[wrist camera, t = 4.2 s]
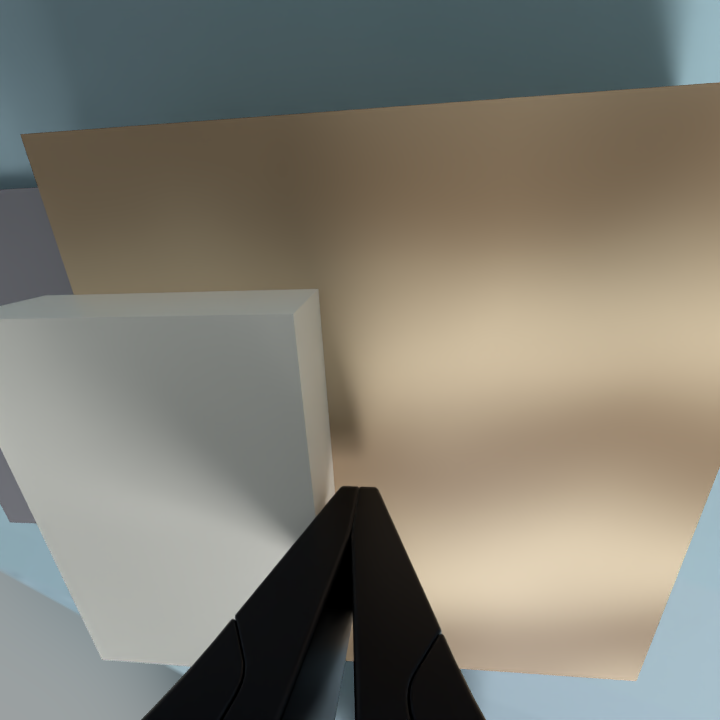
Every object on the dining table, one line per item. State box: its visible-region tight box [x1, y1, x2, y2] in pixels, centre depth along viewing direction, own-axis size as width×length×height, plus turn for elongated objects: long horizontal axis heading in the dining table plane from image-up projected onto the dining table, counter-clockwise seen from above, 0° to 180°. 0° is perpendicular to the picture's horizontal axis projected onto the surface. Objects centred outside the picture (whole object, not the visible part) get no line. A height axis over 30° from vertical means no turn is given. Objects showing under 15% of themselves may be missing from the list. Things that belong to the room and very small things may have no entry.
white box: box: [0, 289, 335, 667], centre depth 8 cm, size 9×6×2 cm, turn 2°
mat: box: [0, 187, 74, 523], centre depth 13 cm, size 13×10×1 cm
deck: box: [20, 83, 720, 681], centre depth 11 cm, size 15×14×4 cm
